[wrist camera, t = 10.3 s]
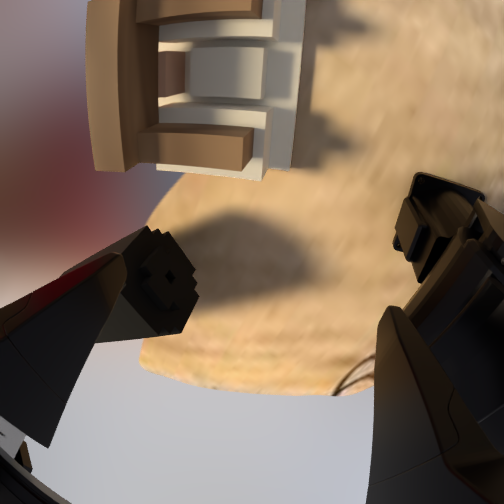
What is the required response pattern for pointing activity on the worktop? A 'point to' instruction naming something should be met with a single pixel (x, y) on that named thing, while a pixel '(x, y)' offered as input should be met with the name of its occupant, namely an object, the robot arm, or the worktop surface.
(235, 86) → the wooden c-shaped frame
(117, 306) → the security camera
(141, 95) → the wooden c-shaped bracket
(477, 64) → the worktop surface
